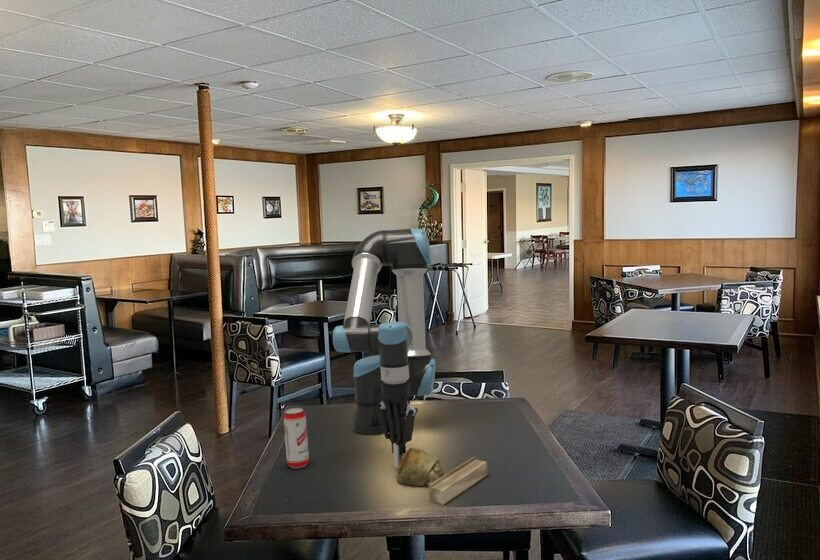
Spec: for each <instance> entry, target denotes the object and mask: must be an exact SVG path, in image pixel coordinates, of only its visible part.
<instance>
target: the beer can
mask: <svg viewBox="0 0 820 560" xmlns="http://www.w3.org/2000/svg"><path fill="white" fill-rule="evenodd" d="M283 428H284V441H285V442H284V443H285V454H286V457H285V458H286V464H287V466H288V467H290V468H291V469H295V470H296V469H297V470H298V469H303V468H305V467H307V465H308V464H309V462H310V452H309V441H308V440H309V439H308V426H307V414H306V413H305V411H304V409H303V407H291V408H287V409H285V411H284V415H283Z"/></svg>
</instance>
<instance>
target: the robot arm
mask: <svg viewBox="0 0 820 560" xmlns="http://www.w3.org/2000/svg"><path fill="white" fill-rule="evenodd" d="M431 264H432V252H431V245H430V241H429V236H428V234H427V232H426V230H424V229H422V228H403V229H402V228H401V229H391V230H390V229H389V230H388V229H386V230H384V229H382V230H377V231H374V232H372V233H370V234H369V235H367V236H366V237H365V238H364V239H363V240H362V241H360V243H359V244H358V245H357V247H356V249H355V251H354V253H353V255H352V259H351V267H352V269H353V271H352V277H351V283H350V288H349V292H348V293H349V294H348V297H347V298H348V299H347V303H346V309H345V315H344V320H343V325H342V324H341V325H337V326H335V327H334V329H333V331H332V332H333V333H332V345H333V348H334V350H335V351H336V352H337V353H338V352H339V353H362V352H367V353H368V352H372V353H373V352H375V353H376V352H379V354H377V355H371V356H367V357H364V358H361V359H359V360H357V361H356V362H355V363H354V365H353V376H352V377H353V383H354V398H355V408H354V412H353V416H352V419H351V430H352V431H353V432H354V433H357V434H359V435H365V436H366V435H367V436H368V435H372V436H373V435H374V436H375V435H382V434H383V435H384V438H385V439H386V440H389V441H390V443H391V452H392V455H393V463H394V468H397V469H398V467H399V463H400V460H401V458H402V453H405V454H406V453H407V446H406V445H407V443H409V442H412V440H413V433H414V425H415V422H416V421H415V420H416V416H417V414H418V410H419V409H418V408H417V407H415V408H414V407H413V406H412V405H411V401H410V398H409V397H410V396H411V397H412V396H413V397H419V396H420V397H421V396H428V395H431V394H432V392H433V390H434V384H435V377H436V359H435V358H432V357H431V355H432V354H431V352H430V351H429V350H428V349H427V348H426V347H427V346H426V345H427V344H426V323H425V322H426V321H425V317H426V316H425V298H424V297H425V295H424V293H425V292H424V274H425V273H426V272H427V271H428V265H431ZM385 266H386V267H388V266H390V267H391V272H392V273H393V274H394V275H396V288H397V290H396V292H397V294H396V295H397V317H398V318H397V319H398V321H388V322H383V323H381V324H370V323H371V319H372V311H373V306H374V305H373V303H374V298H375V291H376V283H377V277H378V274H379V272H380V271H382V270H381V269H382V267H385Z"/></svg>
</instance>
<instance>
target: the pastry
mask: <svg viewBox="0 0 820 560" xmlns="http://www.w3.org/2000/svg"><path fill="white" fill-rule="evenodd" d="M394 475H395V479H396V480H397V481H398V483H400V484H402V485H403V484H404V485H407V486H412V487H420V488H422V487H423V488H424V487H427V488H428V489H429V484H431V483H432V482H434V481H436V480H437V479H439V478H440V477H442V476H444V475H445V473H444V470H443V468H442V466H441V464H440V459H439V458H438V457H436V456H434V455H433V454H429V453H427V452H426V451H425V450H424V449H421V448H420V449H419V448H412V447H410V448H409V449H408V450H406V454H405V453H402V458H401V460H400V463H399V467H398V468H397V469H396V472H395V474H394Z"/></svg>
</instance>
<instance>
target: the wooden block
mask: <svg viewBox="0 0 820 560" xmlns="http://www.w3.org/2000/svg"><path fill="white" fill-rule="evenodd" d="M486 476H488V462H487V461H484V460H480V459H476V456H473V457H471V458H469V459H468V460H466V461H465V462H463V463H461V464H460V465H458V466H456V467H455V468H453V469H452V470H450V471H448V472H447V473H444V476H442V477H440V478H439V479H437V480H436V481H434V482H432V483H431V484H429V488H428V495H429V502H432V503H435V504H439V505H442V506H444V505H446V504H447V503H448V502H449V501H450V502H451V500H453V499H454V498H455V497H457V496H459V495H460V494H461V493H463V492H465V491H466V490H467V489H469V488H470V487H472V486H473V485H475V484H476V483H477V482H479V481H481V480H482V479H483V478H485V477H486Z"/></svg>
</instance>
